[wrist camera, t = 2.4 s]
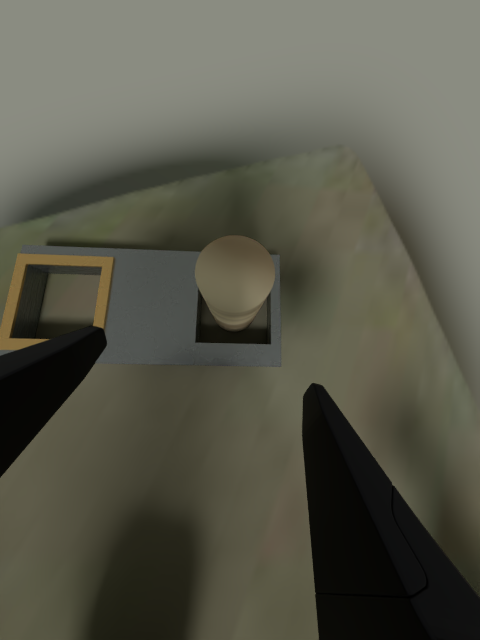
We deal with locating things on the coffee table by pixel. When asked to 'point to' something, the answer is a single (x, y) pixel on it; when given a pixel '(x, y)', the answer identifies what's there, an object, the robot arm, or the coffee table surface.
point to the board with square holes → (134, 306)
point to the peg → (234, 280)
